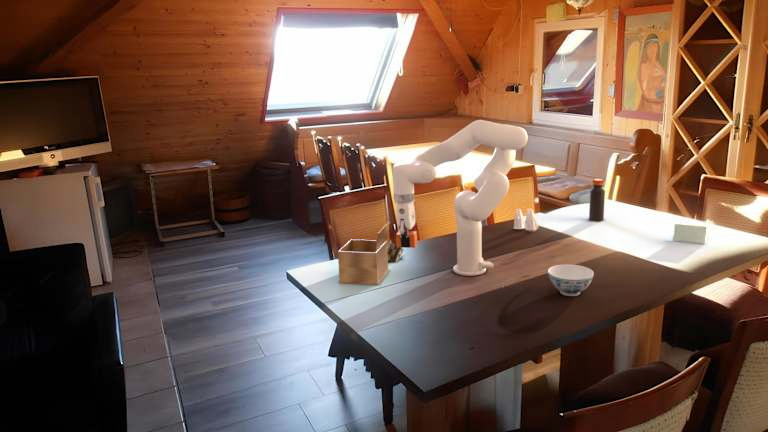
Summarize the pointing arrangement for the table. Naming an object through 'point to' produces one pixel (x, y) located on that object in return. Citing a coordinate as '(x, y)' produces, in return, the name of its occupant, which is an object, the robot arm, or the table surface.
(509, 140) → the robot arm
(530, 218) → the shaker set
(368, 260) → the carton
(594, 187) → the bottle
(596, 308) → the table surface
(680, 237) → the l-shaped corner panel
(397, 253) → the chocolate cake
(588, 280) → the chinaware
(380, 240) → the flap
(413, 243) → the block
